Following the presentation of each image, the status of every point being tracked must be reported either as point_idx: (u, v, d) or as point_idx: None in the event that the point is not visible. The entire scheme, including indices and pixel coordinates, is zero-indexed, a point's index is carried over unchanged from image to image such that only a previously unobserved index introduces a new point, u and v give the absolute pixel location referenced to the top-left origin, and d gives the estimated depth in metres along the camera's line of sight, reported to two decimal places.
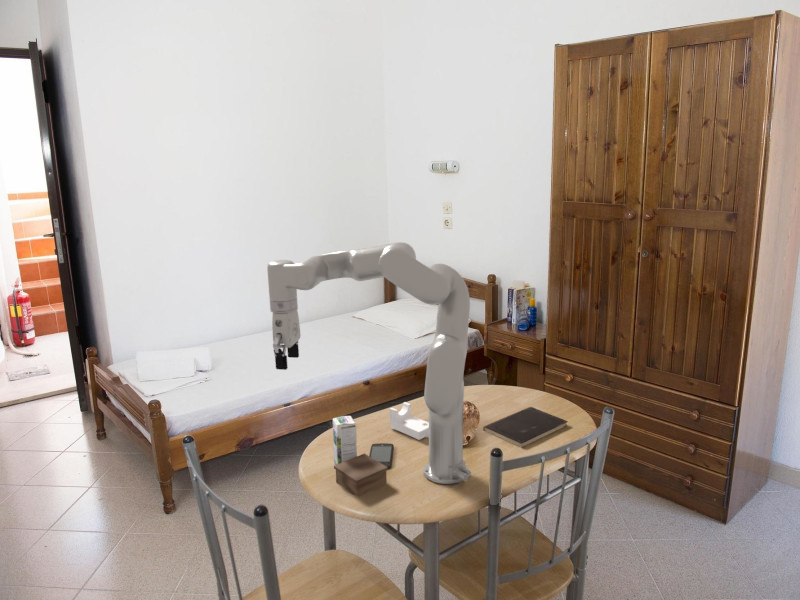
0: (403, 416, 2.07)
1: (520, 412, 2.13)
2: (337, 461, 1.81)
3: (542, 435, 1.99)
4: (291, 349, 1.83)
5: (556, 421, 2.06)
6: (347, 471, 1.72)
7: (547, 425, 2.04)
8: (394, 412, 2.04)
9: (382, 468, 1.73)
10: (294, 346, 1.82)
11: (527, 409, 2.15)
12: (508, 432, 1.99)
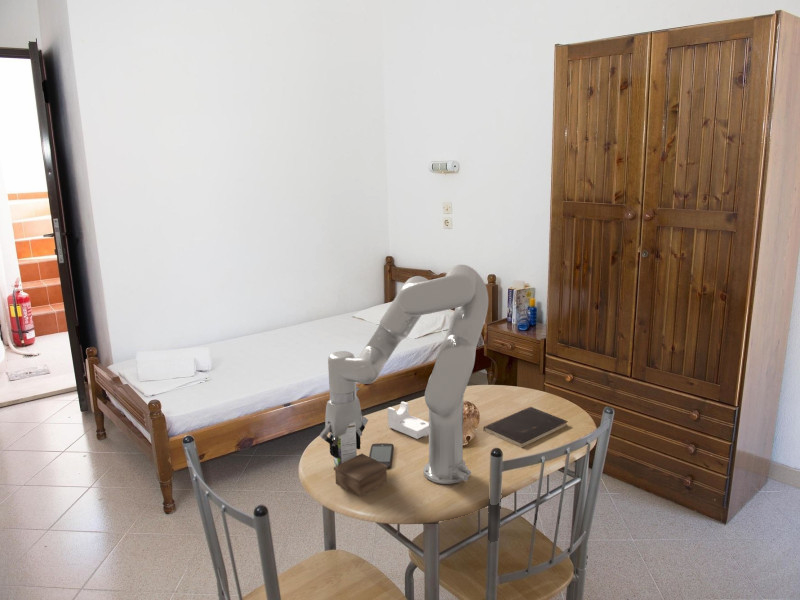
0: (401, 415, 2.07)
1: (520, 412, 2.13)
2: (337, 461, 1.81)
3: (542, 435, 1.99)
4: None
5: (556, 421, 2.06)
6: (348, 472, 1.71)
7: (547, 425, 2.04)
8: (392, 411, 2.04)
9: (382, 467, 1.73)
10: None
11: (527, 410, 2.15)
12: (508, 433, 1.99)
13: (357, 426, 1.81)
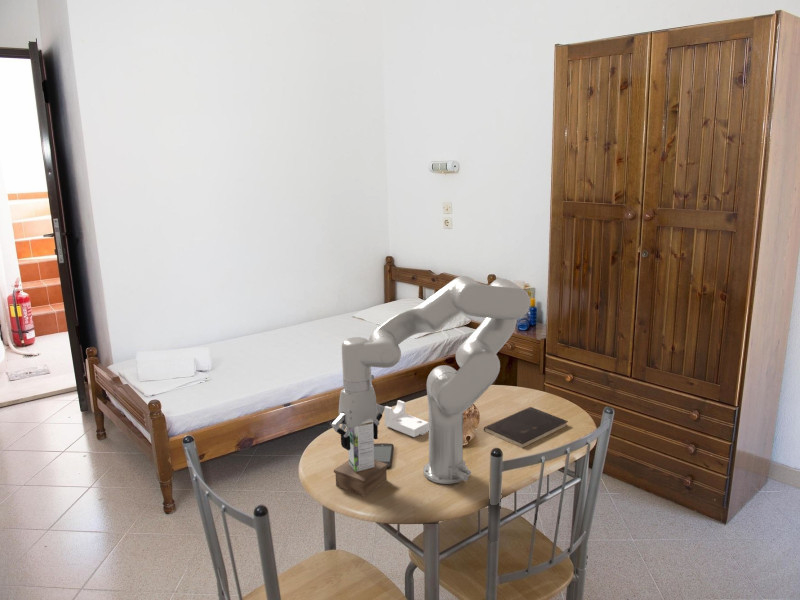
0: (398, 414, 2.08)
1: (520, 412, 2.13)
2: (354, 461, 1.71)
3: (543, 435, 1.99)
4: None
5: (557, 421, 2.06)
6: (350, 473, 1.71)
7: (547, 425, 2.04)
8: (389, 410, 2.05)
9: (383, 465, 1.74)
10: None
11: (527, 410, 2.15)
12: (509, 433, 1.99)
13: (372, 417, 1.71)
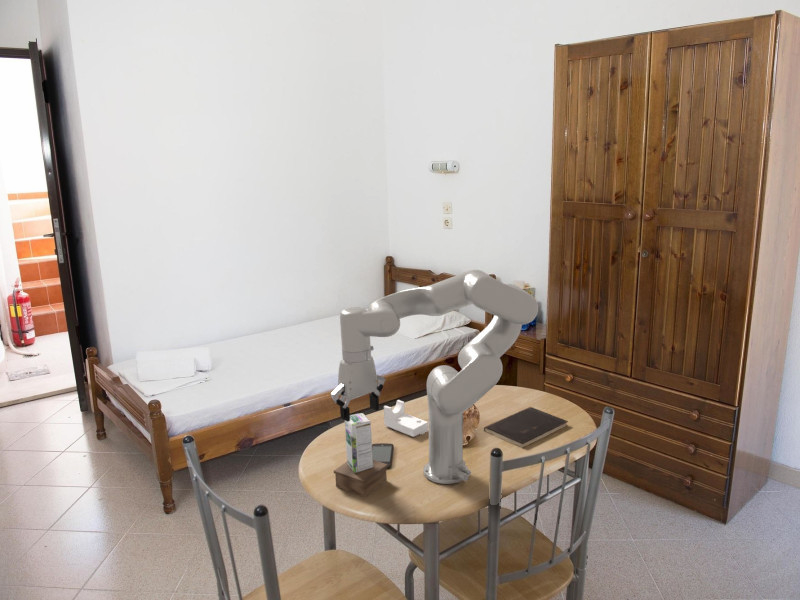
0: (397, 414, 2.09)
1: (520, 412, 2.13)
2: (352, 462, 1.71)
3: (543, 435, 1.99)
4: None
5: (557, 421, 2.06)
6: (350, 473, 1.71)
7: (547, 425, 2.04)
8: (388, 410, 2.06)
9: (383, 466, 1.74)
10: None
11: (527, 410, 2.15)
12: (509, 433, 1.99)
13: (372, 388, 1.69)
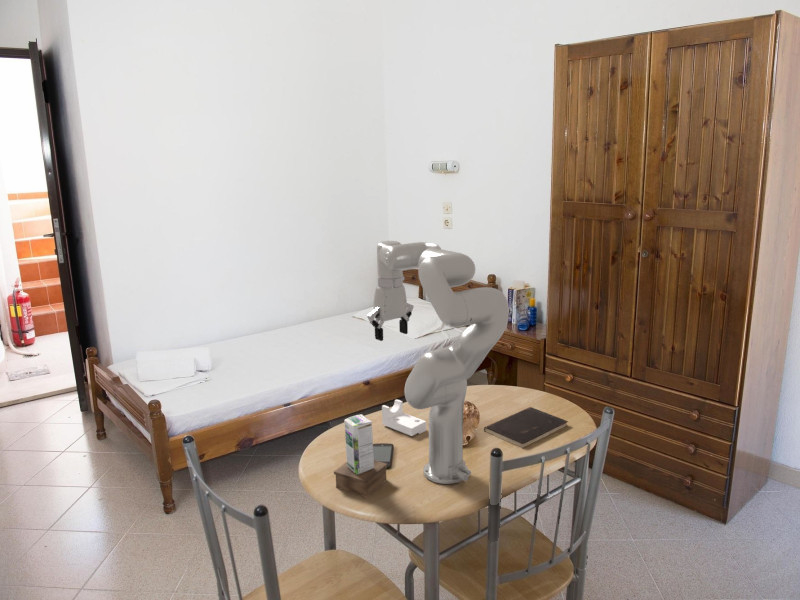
0: (395, 413, 2.09)
1: (520, 412, 2.13)
2: (354, 464, 1.70)
3: (543, 435, 1.99)
4: None
5: (557, 421, 2.06)
6: (351, 474, 1.70)
7: (548, 425, 2.04)
8: (386, 409, 2.06)
9: (383, 465, 1.74)
10: None
11: (527, 410, 2.15)
12: (509, 433, 1.98)
13: (403, 313, 1.93)
